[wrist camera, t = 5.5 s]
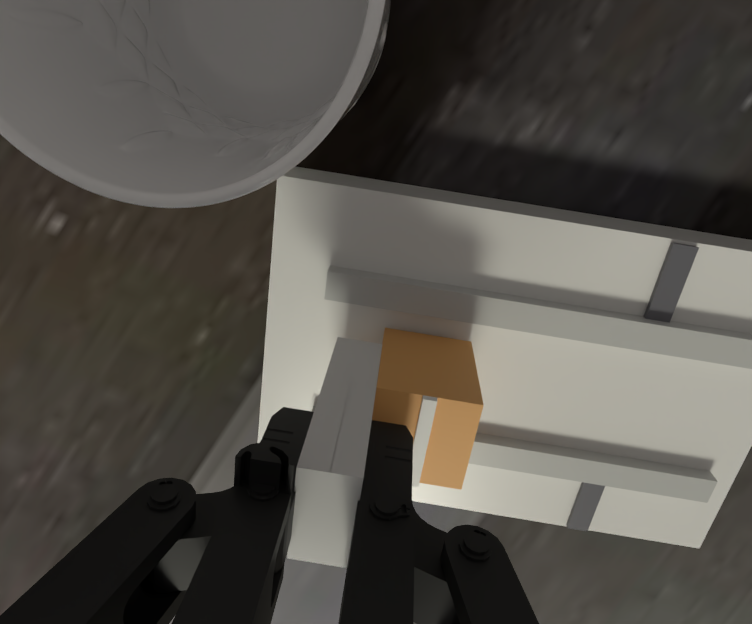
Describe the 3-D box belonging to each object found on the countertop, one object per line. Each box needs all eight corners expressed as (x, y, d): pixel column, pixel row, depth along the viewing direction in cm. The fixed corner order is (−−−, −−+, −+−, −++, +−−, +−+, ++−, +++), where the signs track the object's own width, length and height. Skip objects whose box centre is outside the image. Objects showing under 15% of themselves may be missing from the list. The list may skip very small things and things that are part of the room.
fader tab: (372, 401, 20) (361, 477, 16) (384, 327, 19) (376, 391, 15) (453, 414, 20) (461, 494, 16) (471, 341, 19) (484, 409, 15)
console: (267, 444, 24) (251, 484, 22) (290, 165, 19) (272, 178, 17) (677, 512, 24) (706, 560, 22) (802, 248, 19) (856, 272, 17)
